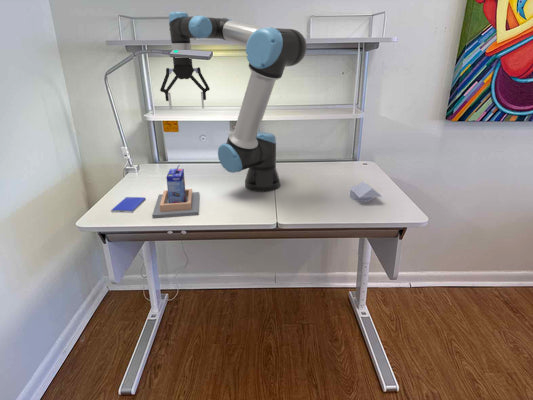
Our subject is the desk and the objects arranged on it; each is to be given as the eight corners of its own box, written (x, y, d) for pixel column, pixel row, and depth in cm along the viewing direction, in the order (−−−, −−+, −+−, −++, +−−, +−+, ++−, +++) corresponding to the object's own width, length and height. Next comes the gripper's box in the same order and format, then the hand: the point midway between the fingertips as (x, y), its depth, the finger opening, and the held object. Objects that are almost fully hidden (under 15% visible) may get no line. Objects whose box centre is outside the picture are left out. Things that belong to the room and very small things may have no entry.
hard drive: (125, 196, 144) (110, 209, 133) (145, 197, 144) (132, 210, 132) (126, 200, 145) (111, 213, 134) (146, 201, 144) (132, 214, 133)
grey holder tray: (199, 194, 148) (198, 186, 147) (198, 214, 130) (197, 205, 129) (159, 197, 146) (158, 188, 145) (152, 218, 128) (151, 208, 127)
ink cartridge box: (184, 207, 134) (180, 169, 128) (169, 208, 133) (164, 170, 128) (186, 197, 143) (183, 161, 137) (172, 198, 142) (168, 162, 137)
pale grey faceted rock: (381, 204, 137) (367, 192, 149) (383, 187, 135) (369, 176, 147) (358, 206, 136) (346, 193, 148) (360, 189, 134) (347, 178, 146)
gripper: (212, 54, 152) (216, 106, 160) (151, 55, 149) (158, 108, 157) (213, 54, 145) (216, 108, 153) (149, 55, 142) (155, 110, 150)
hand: (187, 108), depth 155 cm, fingers open, 13 cm apart
